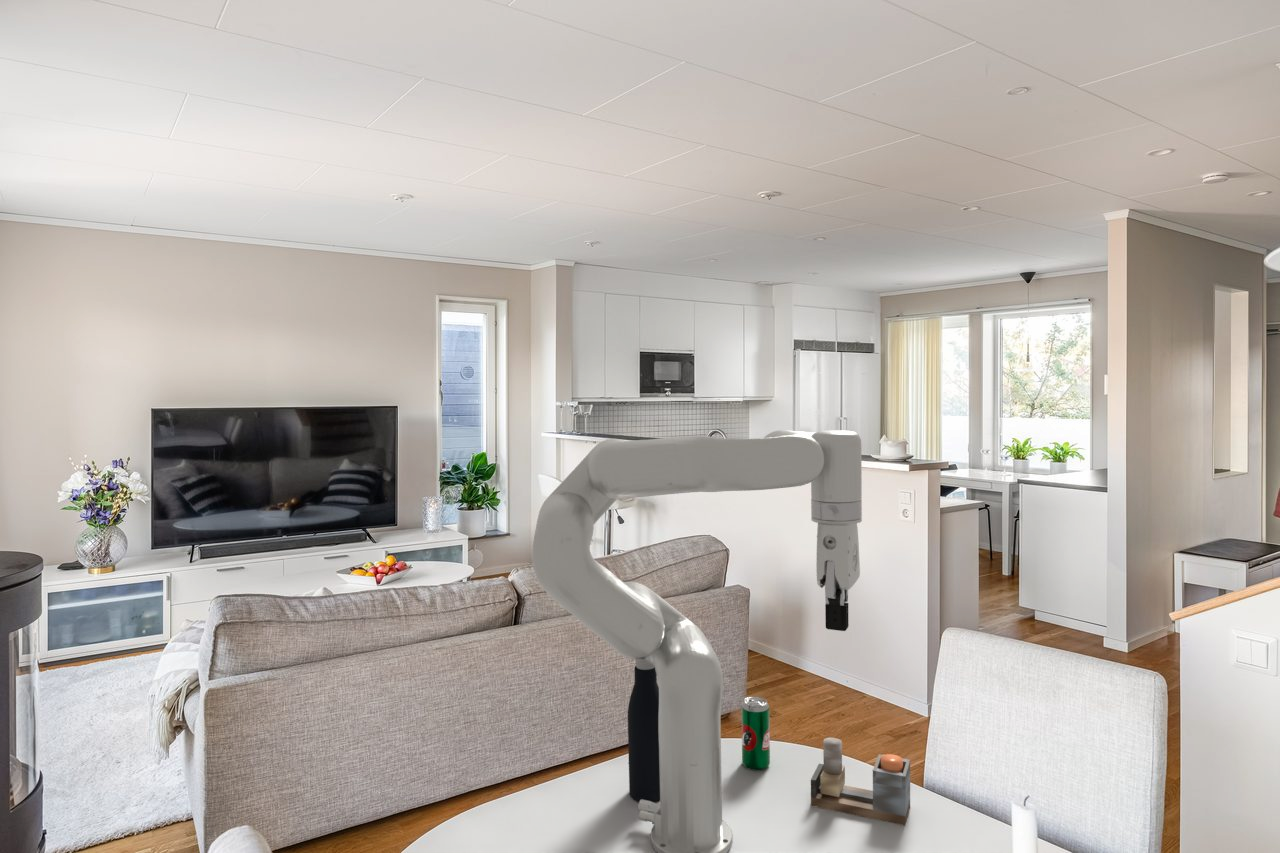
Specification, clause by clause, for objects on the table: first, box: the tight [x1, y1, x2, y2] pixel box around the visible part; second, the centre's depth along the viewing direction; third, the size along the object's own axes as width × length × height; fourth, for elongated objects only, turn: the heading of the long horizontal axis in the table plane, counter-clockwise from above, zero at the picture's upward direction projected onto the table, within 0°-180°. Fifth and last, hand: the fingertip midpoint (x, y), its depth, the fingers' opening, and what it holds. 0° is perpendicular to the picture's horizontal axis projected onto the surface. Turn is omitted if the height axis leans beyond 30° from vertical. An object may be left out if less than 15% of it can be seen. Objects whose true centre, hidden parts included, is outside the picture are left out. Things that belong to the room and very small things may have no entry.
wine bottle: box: [627, 658, 660, 803], centre depth 138 cm, size 6×6×30 cm
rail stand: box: [810, 753, 911, 827], centre depth 133 cm, size 15×6×8 cm, turn 65°
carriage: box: [820, 737, 846, 797], centre depth 135 cm, size 3×5×8 cm, turn 155°
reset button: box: [881, 753, 904, 773], centre depth 130 cm, size 3×3×3 cm
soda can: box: [741, 696, 771, 771], centre depth 147 cm, size 5×5×12 cm
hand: (837, 628), depth 125 cm, fingers closed
